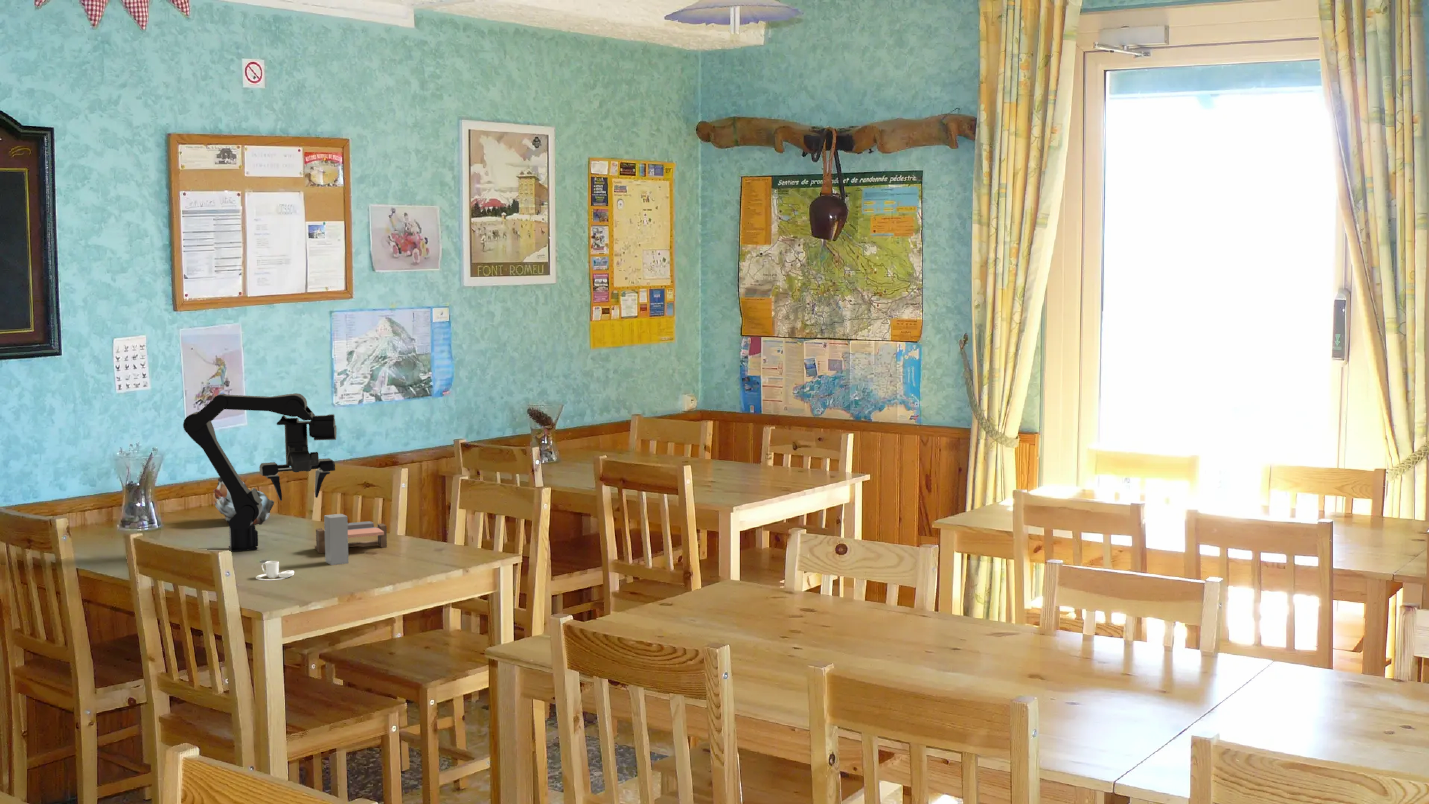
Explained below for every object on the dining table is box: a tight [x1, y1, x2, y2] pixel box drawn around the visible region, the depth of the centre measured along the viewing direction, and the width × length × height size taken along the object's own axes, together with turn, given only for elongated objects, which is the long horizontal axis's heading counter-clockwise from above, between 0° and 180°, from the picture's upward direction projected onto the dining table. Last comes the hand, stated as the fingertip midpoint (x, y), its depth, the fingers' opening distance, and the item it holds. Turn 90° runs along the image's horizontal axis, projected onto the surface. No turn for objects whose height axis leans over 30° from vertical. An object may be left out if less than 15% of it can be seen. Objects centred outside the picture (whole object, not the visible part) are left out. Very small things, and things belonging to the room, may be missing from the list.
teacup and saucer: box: [255, 560, 295, 581], centre depth 324 cm, size 9×8×4 cm
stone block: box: [323, 513, 349, 566], centre depth 340 cm, size 4×4×12 cm
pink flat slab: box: [348, 520, 384, 539], centre depth 355 cm, size 14×11×3 cm
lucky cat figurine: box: [212, 477, 275, 525], centre depth 395 cm, size 17×14×16 cm
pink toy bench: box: [314, 523, 388, 554], centre depth 358 cm, size 18×7×6 cm, turn 117°
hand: (298, 499), depth 358 cm, fingers open, 9 cm apart
